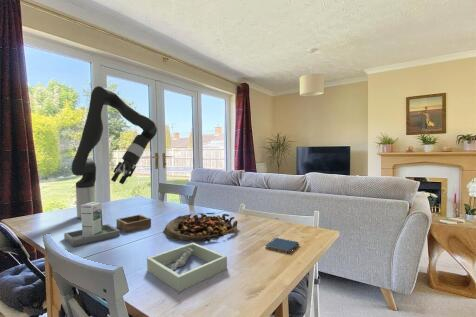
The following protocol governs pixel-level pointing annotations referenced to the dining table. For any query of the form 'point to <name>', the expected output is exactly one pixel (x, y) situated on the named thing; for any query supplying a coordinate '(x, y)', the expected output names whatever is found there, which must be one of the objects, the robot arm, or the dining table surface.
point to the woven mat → (282, 245)
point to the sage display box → (190, 277)
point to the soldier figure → (181, 259)
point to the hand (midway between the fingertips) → (116, 182)
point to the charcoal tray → (78, 239)
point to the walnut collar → (133, 223)
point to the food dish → (199, 227)
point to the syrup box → (91, 219)
